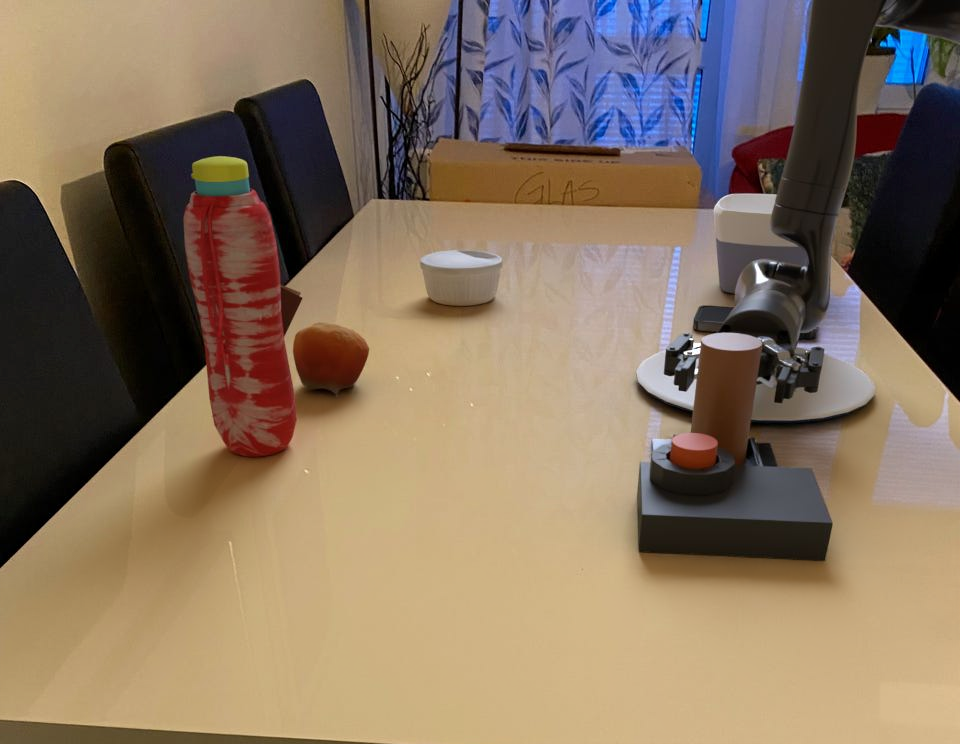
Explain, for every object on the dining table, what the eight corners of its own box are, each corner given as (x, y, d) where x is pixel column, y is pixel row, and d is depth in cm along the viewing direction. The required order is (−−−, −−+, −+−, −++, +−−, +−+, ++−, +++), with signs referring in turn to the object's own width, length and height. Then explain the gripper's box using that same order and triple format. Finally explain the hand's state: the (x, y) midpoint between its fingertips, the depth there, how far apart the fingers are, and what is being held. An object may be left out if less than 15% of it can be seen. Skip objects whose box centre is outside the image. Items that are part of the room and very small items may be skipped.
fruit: (275, 389, 103) (283, 311, 103) (304, 404, 111) (311, 332, 110) (348, 394, 101) (356, 316, 101) (372, 409, 109) (380, 337, 109)
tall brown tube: (712, 448, 91) (727, 329, 85) (755, 465, 88) (775, 342, 82) (675, 462, 89) (688, 340, 83) (718, 480, 85) (735, 354, 79)
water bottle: (259, 414, 101) (222, 143, 87) (330, 423, 99) (303, 147, 85) (195, 459, 92) (142, 163, 78) (272, 470, 89) (231, 168, 76)
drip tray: (651, 444, 94) (652, 426, 93) (769, 448, 93) (772, 430, 92) (654, 494, 85) (656, 474, 84) (785, 499, 83) (789, 480, 82)
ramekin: (514, 292, 140) (515, 253, 137) (481, 312, 132) (481, 271, 129) (444, 284, 144) (443, 246, 141) (407, 303, 136) (405, 263, 133)
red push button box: (636, 494, 85) (641, 439, 82) (804, 502, 83) (815, 446, 80) (638, 552, 76) (643, 492, 73) (825, 561, 75) (838, 500, 72)
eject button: (668, 452, 81) (670, 431, 80) (713, 453, 80) (716, 433, 79) (670, 470, 78) (672, 449, 77) (717, 472, 77) (719, 451, 76)
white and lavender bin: (699, 297, 137) (708, 211, 131) (711, 271, 149) (720, 191, 143) (814, 305, 133) (829, 217, 127) (817, 277, 145) (831, 195, 139)
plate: (615, 354, 116) (616, 343, 116) (823, 347, 118) (825, 337, 117) (663, 434, 96) (664, 422, 95) (914, 425, 97) (917, 413, 96)
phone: (817, 330, 119) (692, 320, 123) (816, 339, 120) (691, 329, 124) (819, 312, 126) (700, 304, 129) (817, 321, 126) (699, 312, 130)
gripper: (693, 291, 100) (655, 336, 88) (839, 304, 96) (821, 353, 83) (685, 364, 105) (648, 416, 92) (825, 380, 100) (805, 437, 88)
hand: (730, 386), depth 88 cm, fingers open, 8 cm apart
